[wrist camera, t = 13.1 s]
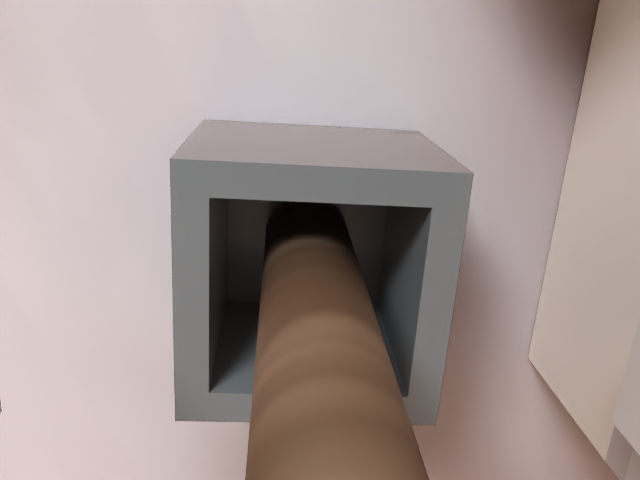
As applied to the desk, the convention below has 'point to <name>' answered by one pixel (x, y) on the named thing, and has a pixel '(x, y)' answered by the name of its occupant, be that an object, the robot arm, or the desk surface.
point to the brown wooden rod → (323, 362)
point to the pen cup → (365, 232)
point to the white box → (597, 243)
